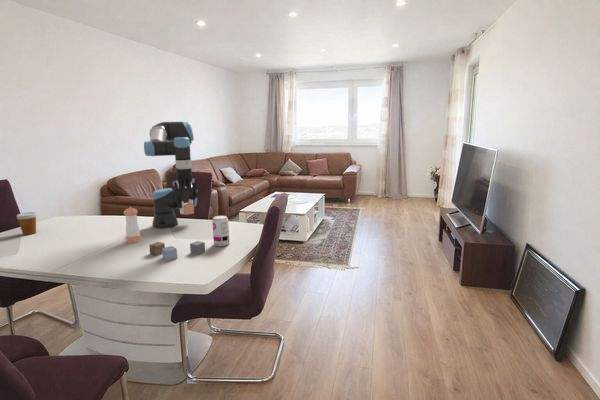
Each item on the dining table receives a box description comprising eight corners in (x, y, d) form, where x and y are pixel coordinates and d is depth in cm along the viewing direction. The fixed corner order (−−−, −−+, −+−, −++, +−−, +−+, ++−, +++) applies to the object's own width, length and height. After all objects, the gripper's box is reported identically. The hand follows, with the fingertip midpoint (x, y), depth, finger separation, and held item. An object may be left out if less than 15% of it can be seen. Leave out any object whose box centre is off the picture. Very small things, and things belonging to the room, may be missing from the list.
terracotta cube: (180, 213, 183) (179, 204, 182) (188, 211, 187) (187, 202, 186) (185, 215, 180) (185, 205, 179) (194, 213, 184) (193, 203, 183)
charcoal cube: (190, 253, 175) (189, 243, 174) (198, 250, 179) (197, 240, 178) (197, 255, 173) (196, 245, 172) (205, 252, 177) (204, 242, 176)
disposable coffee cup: (43, 231, 213) (40, 212, 211) (30, 236, 204) (26, 216, 202) (29, 231, 214) (25, 211, 212) (15, 235, 205) (11, 215, 203)
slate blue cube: (162, 258, 169) (161, 248, 168) (172, 255, 172) (172, 246, 171) (167, 261, 165) (166, 251, 164) (177, 258, 168) (176, 248, 167)
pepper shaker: (135, 243, 190) (131, 209, 186) (123, 242, 191) (119, 208, 187) (143, 239, 197) (140, 206, 193) (132, 238, 198) (128, 205, 194)
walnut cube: (150, 254, 174) (149, 244, 173) (158, 251, 179) (157, 241, 177) (157, 255, 172) (156, 246, 171) (165, 252, 176) (164, 243, 175)
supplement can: (214, 247, 182) (212, 219, 179) (213, 242, 190) (212, 215, 187) (230, 246, 185) (228, 218, 182) (228, 241, 192) (227, 214, 189)
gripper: (171, 170, 169) (175, 217, 174) (203, 167, 183) (205, 210, 188) (163, 169, 174) (167, 215, 179) (194, 166, 188) (197, 208, 193)
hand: (187, 212), depth 183 cm, fingers closed on terracotta cube, 5 cm apart
